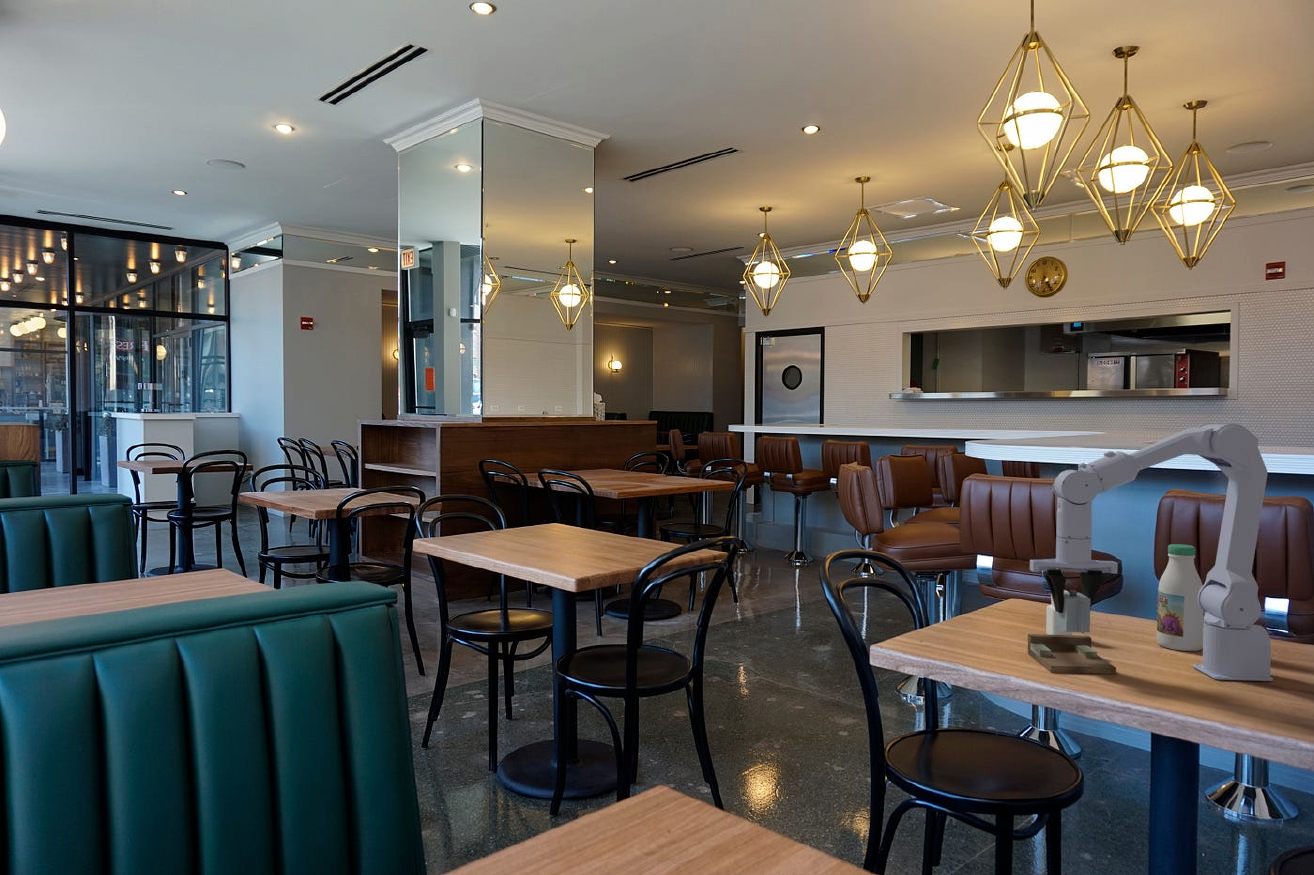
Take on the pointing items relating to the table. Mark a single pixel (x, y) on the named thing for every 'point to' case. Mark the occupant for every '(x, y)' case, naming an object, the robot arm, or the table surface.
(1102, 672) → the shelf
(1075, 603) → the grey knobbed box
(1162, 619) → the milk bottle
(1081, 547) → the robot arm
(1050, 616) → the pepper shaker
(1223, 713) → the table surface
